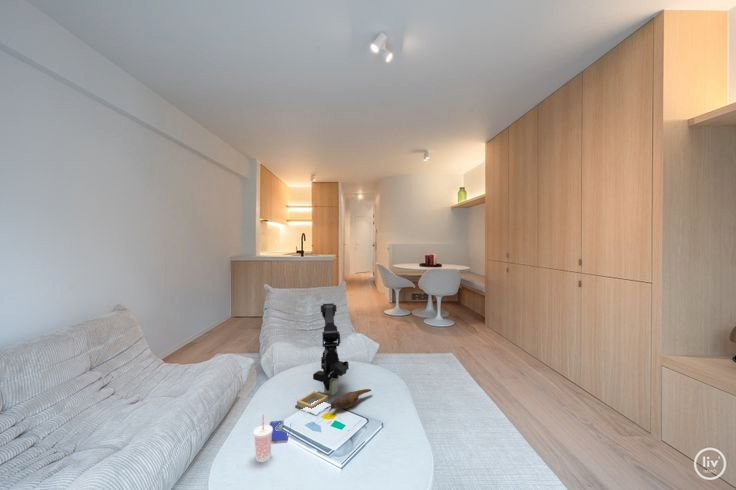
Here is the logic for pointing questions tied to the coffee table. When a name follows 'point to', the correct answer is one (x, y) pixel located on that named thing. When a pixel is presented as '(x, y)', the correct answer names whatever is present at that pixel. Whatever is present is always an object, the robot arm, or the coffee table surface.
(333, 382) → the block
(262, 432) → the beverage cup
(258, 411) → the coffee table surface
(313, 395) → the socket dock
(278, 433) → the hard drive
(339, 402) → the bird sculpture
